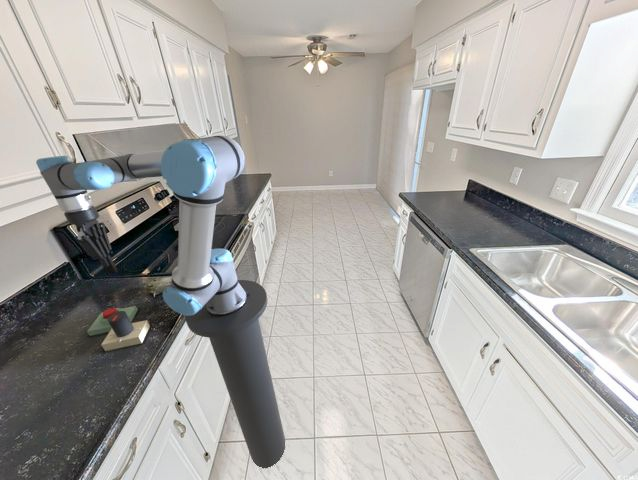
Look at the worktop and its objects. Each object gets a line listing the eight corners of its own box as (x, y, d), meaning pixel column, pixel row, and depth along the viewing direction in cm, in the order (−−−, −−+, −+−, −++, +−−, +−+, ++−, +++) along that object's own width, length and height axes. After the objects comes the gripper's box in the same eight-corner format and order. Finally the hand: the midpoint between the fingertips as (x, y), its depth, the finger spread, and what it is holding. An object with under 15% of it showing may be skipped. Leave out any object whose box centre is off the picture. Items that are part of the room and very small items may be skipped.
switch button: (119, 310, 96) (117, 306, 95) (114, 317, 92) (112, 313, 91) (107, 312, 95) (105, 309, 94) (102, 320, 91) (100, 316, 91)
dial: (120, 328, 88) (111, 311, 85) (136, 324, 89) (128, 308, 86) (113, 338, 84) (103, 322, 80) (130, 335, 84) (121, 318, 81)
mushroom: (146, 298, 107) (141, 288, 105) (156, 285, 116) (151, 275, 113) (181, 294, 108) (177, 283, 106) (188, 281, 117) (185, 271, 115)
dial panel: (150, 325, 93) (147, 318, 91) (141, 344, 85) (137, 337, 83) (117, 332, 91) (113, 325, 89) (104, 352, 82) (99, 345, 81)
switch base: (138, 310, 101) (134, 302, 99) (127, 328, 92) (123, 320, 90) (103, 316, 98) (99, 308, 97) (89, 336, 90) (84, 327, 88)
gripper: (81, 213, 73) (116, 280, 84) (102, 201, 85) (131, 261, 95) (50, 217, 72) (90, 285, 82) (77, 204, 83) (109, 265, 94)
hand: (112, 272), depth 89 cm, fingers closed
